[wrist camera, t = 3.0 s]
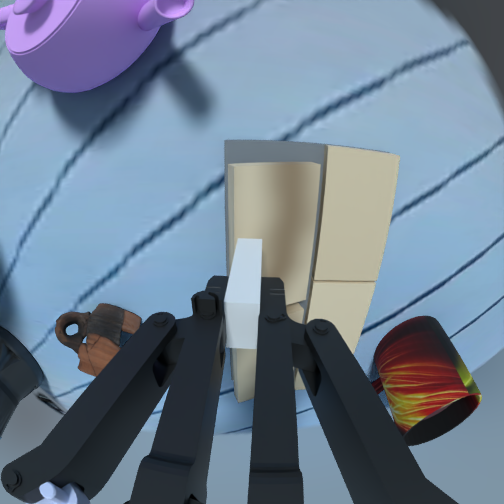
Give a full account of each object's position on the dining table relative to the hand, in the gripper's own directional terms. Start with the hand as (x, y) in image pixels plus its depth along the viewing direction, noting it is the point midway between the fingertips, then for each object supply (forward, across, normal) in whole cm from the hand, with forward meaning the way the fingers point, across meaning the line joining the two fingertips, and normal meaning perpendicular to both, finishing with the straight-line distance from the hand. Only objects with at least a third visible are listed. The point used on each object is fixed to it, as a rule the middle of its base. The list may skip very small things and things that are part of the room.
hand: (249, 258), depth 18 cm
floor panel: (+6, +4, -6) cm, 9 cm away
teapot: (+6, -13, +19) cm, 24 cm away
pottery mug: (+6, -17, -13) cm, 22 cm away
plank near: (+3, +1, 0) cm, 4 cm away
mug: (+6, +19, -17) cm, 26 cm away
